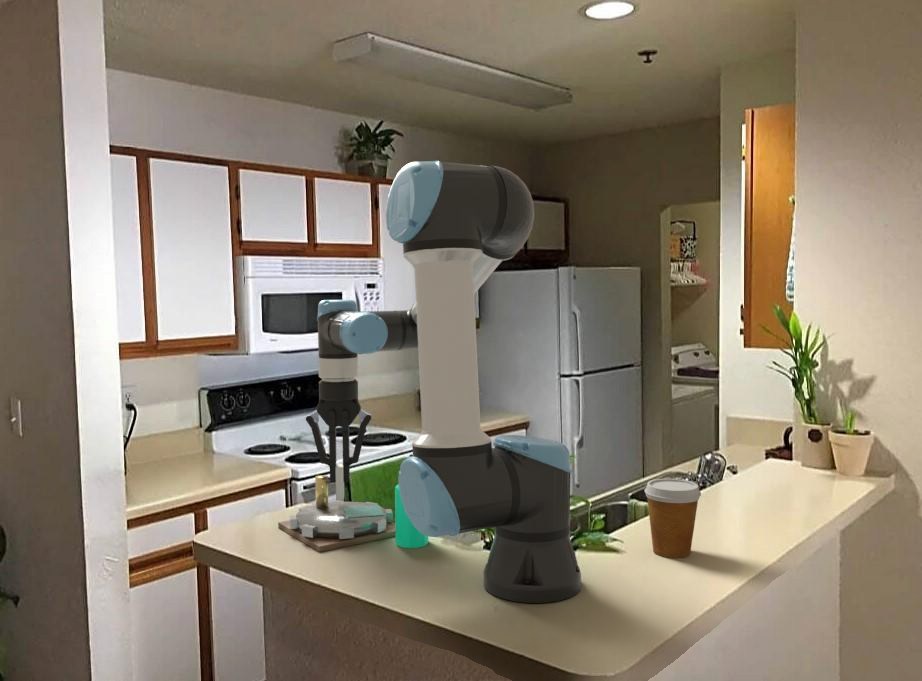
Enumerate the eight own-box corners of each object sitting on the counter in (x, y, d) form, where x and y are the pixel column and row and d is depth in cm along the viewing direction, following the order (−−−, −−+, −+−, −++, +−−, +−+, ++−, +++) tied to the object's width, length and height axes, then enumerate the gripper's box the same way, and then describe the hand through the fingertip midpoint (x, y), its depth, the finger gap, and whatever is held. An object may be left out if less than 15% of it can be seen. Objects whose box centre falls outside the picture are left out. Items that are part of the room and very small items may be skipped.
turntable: (384, 507, 170) (384, 468, 169) (399, 535, 151) (399, 491, 151) (288, 513, 165) (287, 473, 165) (292, 543, 147) (291, 498, 146)
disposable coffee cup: (702, 563, 140) (703, 492, 139) (644, 559, 141) (644, 490, 141) (697, 545, 149) (698, 479, 148) (643, 542, 151) (644, 477, 150)
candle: (430, 538, 154) (430, 474, 153) (425, 548, 148) (425, 481, 147) (398, 537, 154) (397, 473, 153) (392, 547, 148) (392, 481, 147)
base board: (406, 533, 156) (406, 528, 156) (319, 552, 146) (319, 546, 146) (361, 512, 171) (361, 507, 171) (278, 527, 161) (278, 522, 160)
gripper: (372, 376, 166) (373, 492, 168) (306, 377, 165) (308, 494, 167) (371, 380, 159) (373, 502, 160) (302, 381, 157) (304, 504, 159)
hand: (340, 498), depth 164 cm, fingers closed
